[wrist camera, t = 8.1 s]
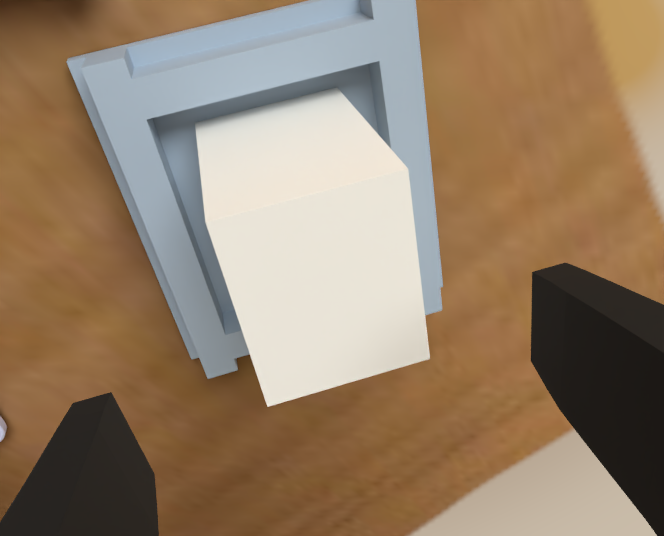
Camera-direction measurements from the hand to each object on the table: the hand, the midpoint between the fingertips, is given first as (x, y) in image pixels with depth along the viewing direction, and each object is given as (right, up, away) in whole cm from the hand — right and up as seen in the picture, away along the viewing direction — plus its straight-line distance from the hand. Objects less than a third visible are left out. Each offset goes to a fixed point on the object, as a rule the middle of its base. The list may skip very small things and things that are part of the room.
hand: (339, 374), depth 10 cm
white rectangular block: (-1, +4, +8) cm, 9 cm away
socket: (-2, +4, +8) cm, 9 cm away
